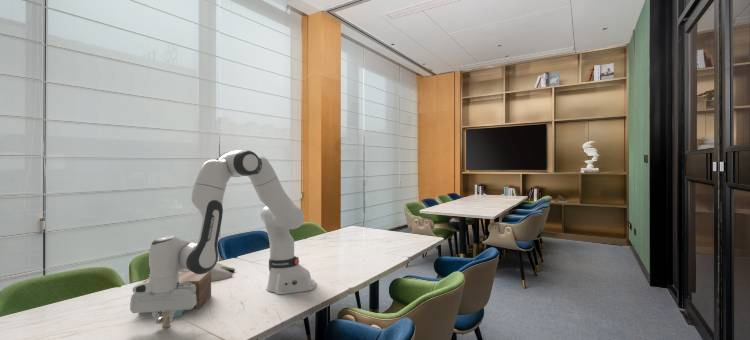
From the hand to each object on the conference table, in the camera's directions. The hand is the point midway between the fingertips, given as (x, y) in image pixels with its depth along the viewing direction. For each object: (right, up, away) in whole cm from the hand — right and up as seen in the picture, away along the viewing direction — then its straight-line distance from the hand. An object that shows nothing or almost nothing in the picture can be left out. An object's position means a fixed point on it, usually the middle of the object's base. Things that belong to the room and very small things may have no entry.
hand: (164, 322), depth 116 cm
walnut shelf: (-8, -2, +22) cm, 23 cm away
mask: (-16, -3, +56) cm, 59 cm away
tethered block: (-2, -2, +7) cm, 8 cm away
